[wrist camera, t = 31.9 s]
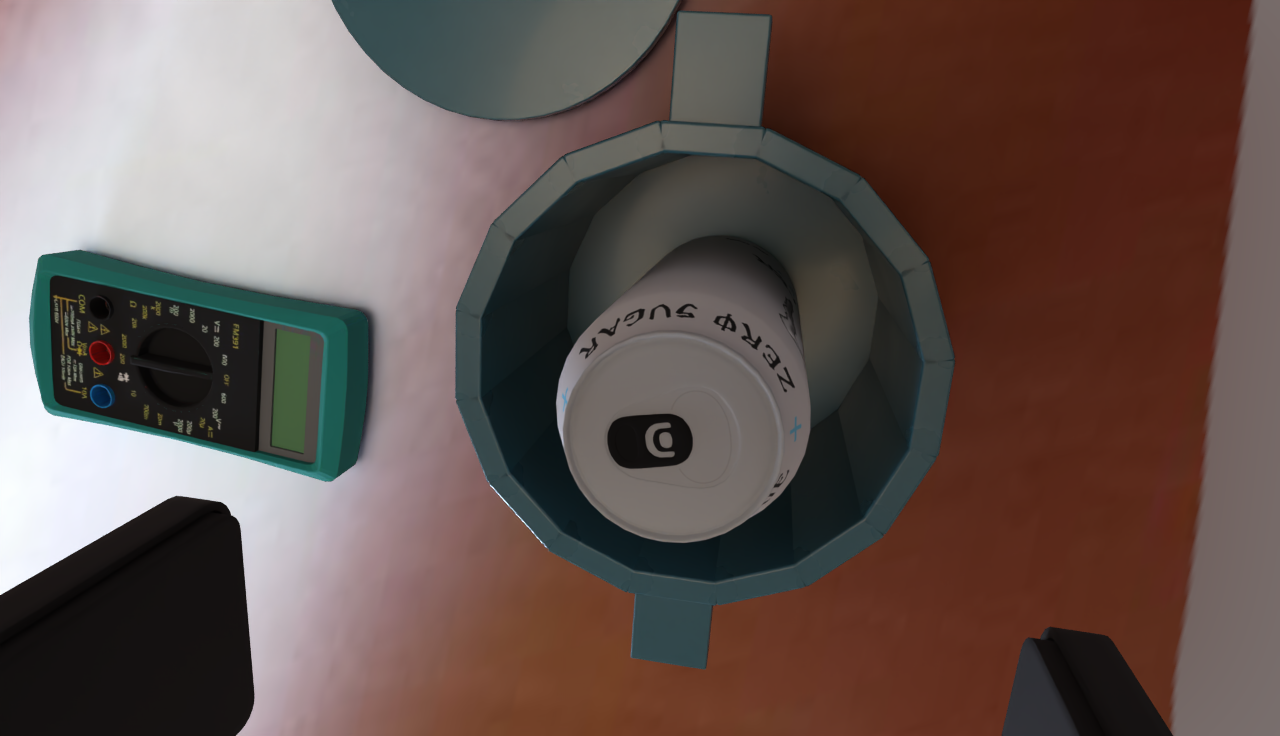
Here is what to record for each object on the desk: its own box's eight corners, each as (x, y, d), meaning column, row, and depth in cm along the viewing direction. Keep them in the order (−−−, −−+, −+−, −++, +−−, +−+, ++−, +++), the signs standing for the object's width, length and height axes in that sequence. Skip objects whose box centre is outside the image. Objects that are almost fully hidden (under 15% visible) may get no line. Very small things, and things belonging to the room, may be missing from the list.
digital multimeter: (70, 243, 36) (10, 251, 33) (379, 309, 35) (343, 324, 32) (75, 395, 38) (19, 415, 36) (366, 465, 37) (332, 491, 34)
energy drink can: (804, 377, 32) (825, 562, 17) (654, 390, 33) (559, 573, 19) (790, 223, 30) (800, 288, 16) (634, 242, 32) (514, 318, 17)
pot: (933, 65, 29) (1016, 19, 19) (859, 548, 34) (893, 715, 24) (561, 46, 31) (455, -5, 21) (545, 505, 36) (453, 643, 26)
